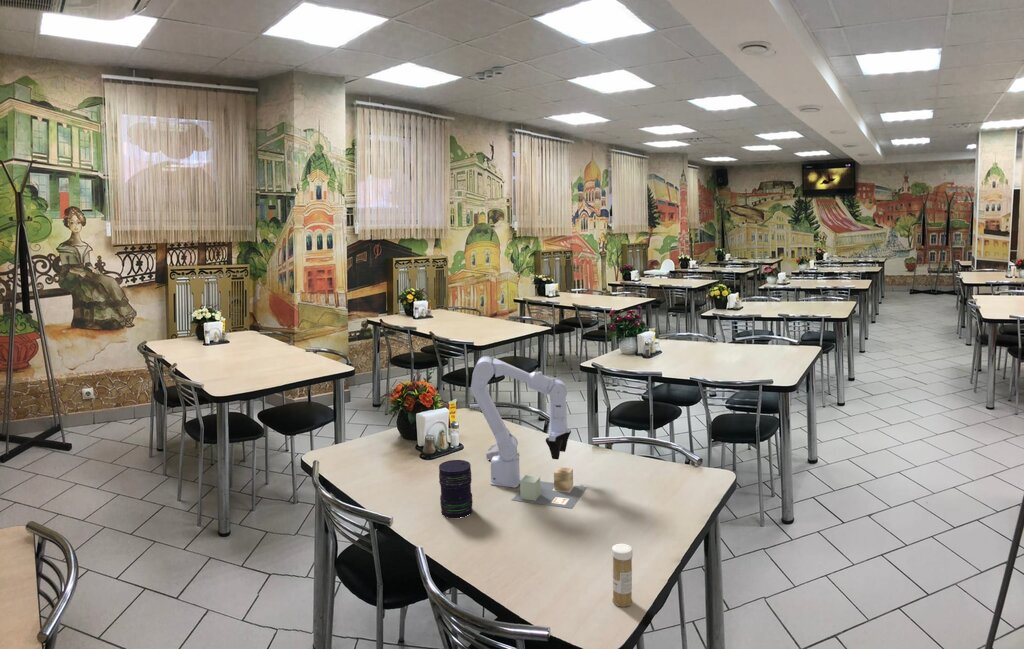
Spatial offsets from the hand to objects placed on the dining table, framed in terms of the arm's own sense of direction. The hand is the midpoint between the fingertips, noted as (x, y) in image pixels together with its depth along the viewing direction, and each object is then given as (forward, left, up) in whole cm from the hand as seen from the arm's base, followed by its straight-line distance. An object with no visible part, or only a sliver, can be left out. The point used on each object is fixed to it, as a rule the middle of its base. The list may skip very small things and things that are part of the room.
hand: (558, 455), depth 217 cm
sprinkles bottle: (+35, -63, -10) cm, 73 cm away
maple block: (+3, -5, -9) cm, 11 cm away
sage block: (-5, -15, -9) cm, 18 cm away
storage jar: (-23, -32, -10) cm, 41 cm away
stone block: (-29, +17, -10) cm, 35 cm away
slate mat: (0, -11, -9) cm, 14 cm away
